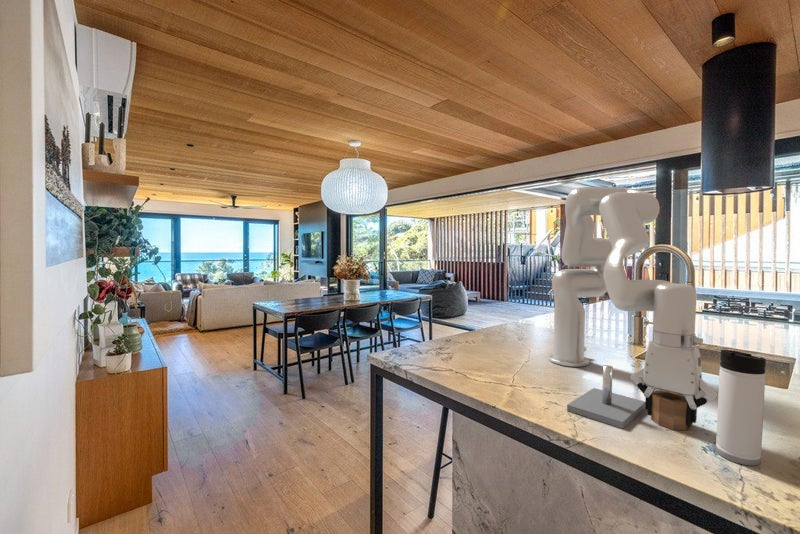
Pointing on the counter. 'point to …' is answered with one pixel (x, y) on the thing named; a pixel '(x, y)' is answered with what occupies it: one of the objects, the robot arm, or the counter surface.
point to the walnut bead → (669, 409)
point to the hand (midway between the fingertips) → (669, 418)
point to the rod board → (607, 408)
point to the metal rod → (607, 385)
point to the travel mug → (740, 407)
